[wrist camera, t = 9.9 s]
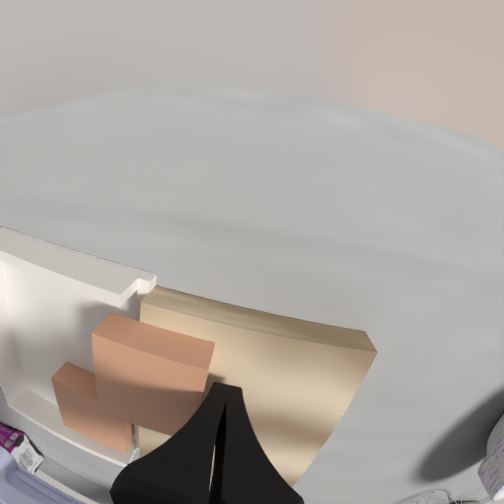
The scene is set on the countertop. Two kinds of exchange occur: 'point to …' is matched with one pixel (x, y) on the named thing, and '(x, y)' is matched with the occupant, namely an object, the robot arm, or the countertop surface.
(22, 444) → the candy bar box
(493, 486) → the white purple patterned bowl
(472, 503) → the kitchen whisk
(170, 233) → the countertop surface
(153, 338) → the terracotta tile
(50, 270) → the bin
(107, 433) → the terracotta tile
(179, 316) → the oak board
